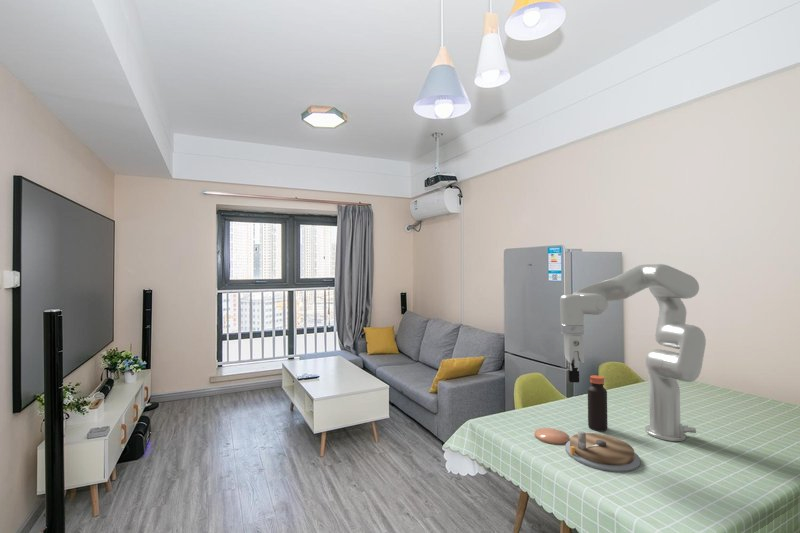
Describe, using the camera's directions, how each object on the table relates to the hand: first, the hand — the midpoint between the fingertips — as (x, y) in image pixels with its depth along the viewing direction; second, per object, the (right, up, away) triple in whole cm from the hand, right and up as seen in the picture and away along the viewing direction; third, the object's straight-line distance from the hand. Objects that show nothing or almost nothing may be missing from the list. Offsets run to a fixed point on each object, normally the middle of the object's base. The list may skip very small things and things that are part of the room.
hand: (573, 381), depth 134 cm
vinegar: (+17, -23, +16) cm, 33 cm away
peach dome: (-5, -23, +7) cm, 25 cm away
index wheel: (+6, -21, -7) cm, 23 cm away
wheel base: (+6, -23, -7) cm, 24 cm away
